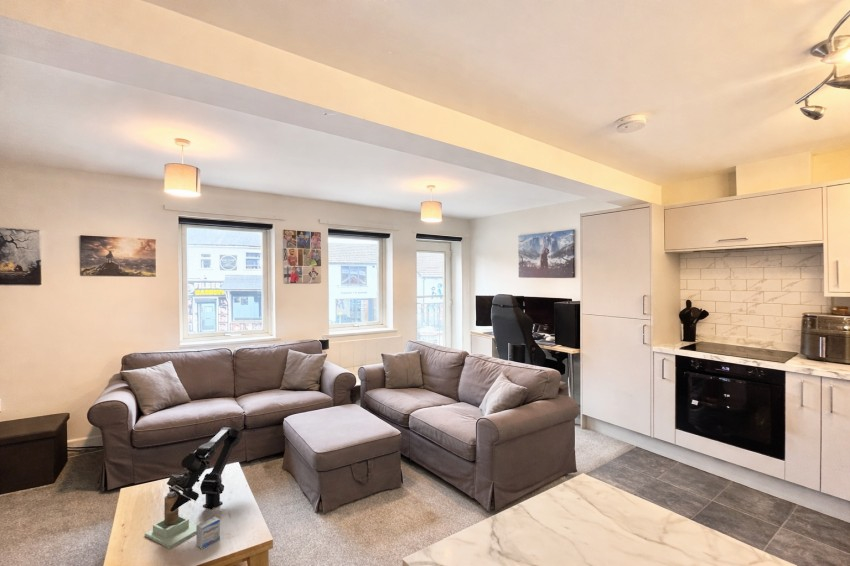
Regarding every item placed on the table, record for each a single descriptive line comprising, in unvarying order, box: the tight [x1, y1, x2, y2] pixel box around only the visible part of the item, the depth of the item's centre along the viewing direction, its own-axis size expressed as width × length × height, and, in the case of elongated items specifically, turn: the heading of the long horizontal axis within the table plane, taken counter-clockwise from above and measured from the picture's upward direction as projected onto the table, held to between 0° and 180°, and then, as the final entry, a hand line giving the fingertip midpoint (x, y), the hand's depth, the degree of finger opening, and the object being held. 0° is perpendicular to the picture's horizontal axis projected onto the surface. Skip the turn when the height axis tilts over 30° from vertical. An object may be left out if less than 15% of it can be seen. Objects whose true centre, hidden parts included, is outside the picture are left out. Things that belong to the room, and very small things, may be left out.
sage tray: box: [144, 514, 198, 549], centre depth 174 cm, size 18×14×4 cm
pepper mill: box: [163, 491, 179, 526], centre depth 175 cm, size 5×5×13 cm
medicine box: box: [195, 516, 221, 549], centre depth 168 cm, size 8×4×9 cm, turn 148°
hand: (168, 509), depth 174 cm, fingers closed on pepper mill, 5 cm apart
